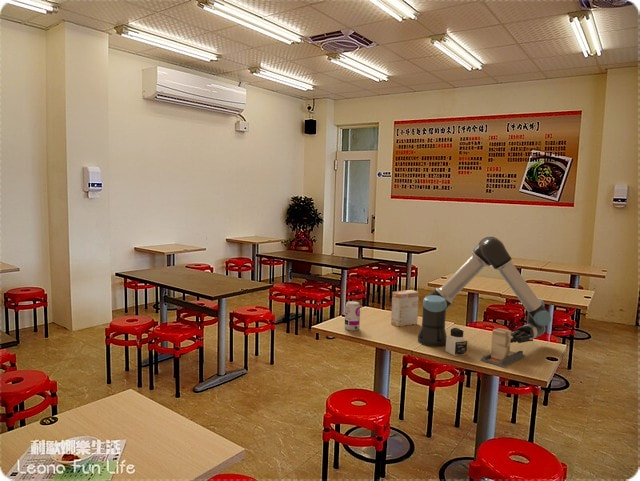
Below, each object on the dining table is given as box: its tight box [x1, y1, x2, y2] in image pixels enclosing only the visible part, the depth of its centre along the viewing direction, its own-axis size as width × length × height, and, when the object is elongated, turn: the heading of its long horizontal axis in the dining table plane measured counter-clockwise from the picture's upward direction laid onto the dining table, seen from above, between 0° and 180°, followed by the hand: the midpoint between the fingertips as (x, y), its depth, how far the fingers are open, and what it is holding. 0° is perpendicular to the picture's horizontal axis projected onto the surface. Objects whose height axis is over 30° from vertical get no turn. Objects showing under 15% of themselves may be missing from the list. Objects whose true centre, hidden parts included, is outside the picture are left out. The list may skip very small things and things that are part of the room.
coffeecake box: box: [390, 289, 420, 327], centre depth 275 cm, size 15×7×20 cm, turn 120°
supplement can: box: [344, 300, 361, 332], centre depth 261 cm, size 8×8×15 cm
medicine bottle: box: [445, 327, 468, 357], centre depth 226 cm, size 7×7×12 cm
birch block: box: [490, 327, 512, 360], centre depth 217 cm, size 6×6×13 cm
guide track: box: [480, 350, 526, 368], centre depth 220 cm, size 22×11×2 cm, turn 133°
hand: (505, 341), depth 219 cm, fingers closed
